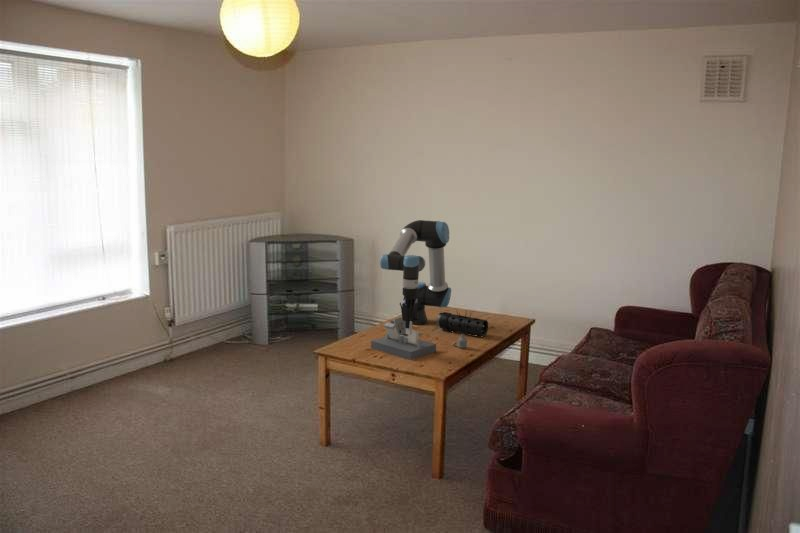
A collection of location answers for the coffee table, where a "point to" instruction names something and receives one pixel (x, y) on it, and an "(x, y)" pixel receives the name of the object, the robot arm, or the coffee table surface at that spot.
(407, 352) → the breaker panel
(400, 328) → the electrical switch
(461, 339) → the reed diffuser
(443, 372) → the coffee table surface
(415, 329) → the breaker
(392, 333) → the breaker
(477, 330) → the muzzle brake
